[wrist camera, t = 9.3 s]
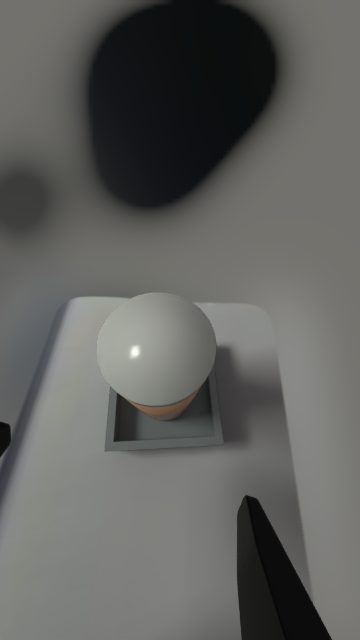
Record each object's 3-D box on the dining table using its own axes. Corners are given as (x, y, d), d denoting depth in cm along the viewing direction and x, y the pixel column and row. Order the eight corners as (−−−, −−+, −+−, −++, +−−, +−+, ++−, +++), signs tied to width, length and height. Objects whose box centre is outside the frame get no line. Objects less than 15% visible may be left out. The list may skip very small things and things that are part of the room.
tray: (112, 449, 19) (104, 451, 17) (119, 348, 23) (114, 339, 21) (217, 443, 20) (223, 444, 17) (207, 345, 24) (210, 336, 21)
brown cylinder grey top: (149, 431, 19) (120, 430, 8) (128, 378, 21) (82, 316, 10) (201, 404, 20) (238, 370, 9) (177, 355, 22) (184, 278, 11)
